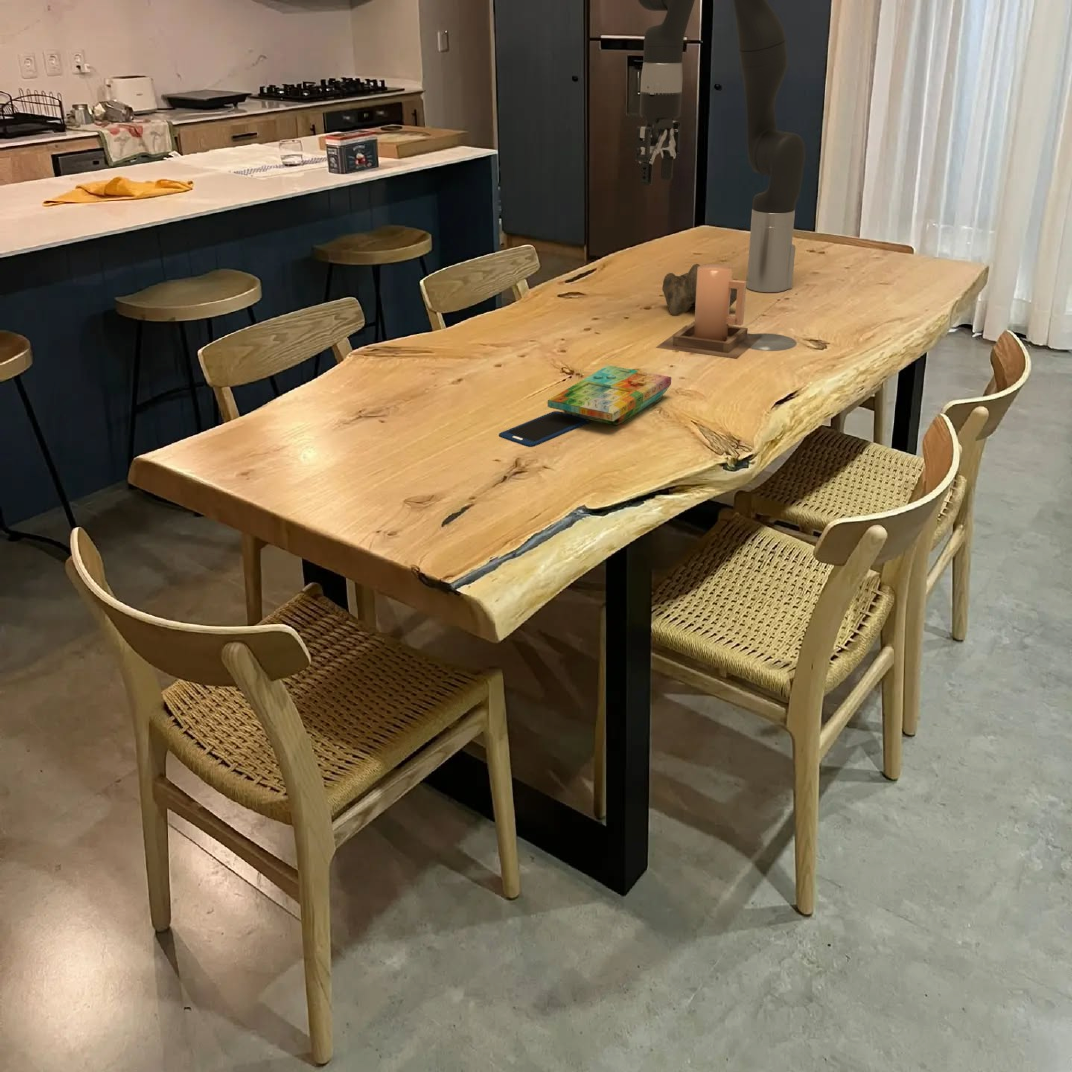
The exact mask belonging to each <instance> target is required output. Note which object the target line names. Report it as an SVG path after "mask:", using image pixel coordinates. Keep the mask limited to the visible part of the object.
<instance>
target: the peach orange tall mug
mask: <svg viewBox="0 0 1072 1072" xmlns="http://www.w3.org/2000/svg"><path fill="white" fill-rule="evenodd" d="M732 277H733V267H732V266H730V265H727V264H719V263H709V264H707V263H706V264H702V265H701V264H700V266H698V268H697V286H696V304H695V307H694V309H695V310H694V321H695V322H694V321H693V322H694V338H702V339H710V340H717V341H725V342H726V341H727V337H728V326H729V325H731V326H733V325H734V326H738V327H742V326H743V325H744V317H745V316H744V315H745V307H746V305H745V303H746V293H747V292H746V289H747V287H746V286H747V280H739V279H737V280H733V278H732ZM731 288H734V289H737V299H736V301H735V315H734V316H733V315H730V309H731V308H730V294H731Z"/></svg>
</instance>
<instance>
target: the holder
mask: <svg viewBox="0 0 1072 1072" xmlns="http://www.w3.org/2000/svg"><path fill="white" fill-rule="evenodd" d="M694 322H695V320H693V321H692V322H691V323H690V324H688V325H684V326H683V327H682V328H680V329H679V330H678V331H676V332H675V333H674V334H672V335H671V336H669V337H668V338H666V339H665V340H663V342H661V343H660V344H658V345H657V346H655V348H656V349H663V350H669V351H676V352H677V351H678V352H683V353H690V354H696V355H705V356H706V355H707V356H712V357H720V358H727V359H734V360H738V359H739V358H740V357H741V356H742V355H743V354H745V352H747V351H748V350H749V349H750V347H751V345H753V344H754V342H755V340H756V342H757V340H758V338H757V339H756V338H755V339H754V338H752V337H751V338H749V339H750V340H748V339H747V340H746V338H747V336H749V335H750V334H751V335H752V334H753V333H748V327H744V326H743V327H742V326H736V325H734V326H733V325H728V337H727V341H726V342H725V341H717V340H710V339H702V338H694ZM760 336H761V335H760ZM754 337H755V336H754ZM744 339H745V340H746V341H747V342H748V341H749V342H750V341H751V342H750V343H748V344H751V345H750V346H749V345H748V346H747V347H748V348H747V347H746V345H745V344H747V343H744V342H745V341H743V340H744ZM759 339H760V338H759ZM752 341H753V342H752ZM741 342H743V344H744V345H745V347H744V346H742V345H741V344H740V343H741ZM752 343H753V344H752Z"/></svg>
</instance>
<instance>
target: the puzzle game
mask: <svg viewBox="0 0 1072 1072" xmlns="http://www.w3.org/2000/svg"><path fill="white" fill-rule="evenodd" d="M671 385H672V377H671V376H668V375H664V374H663V375H662V374H657V373H651V372H648V371H641V370H637V369H631V368H624V367H620V366H615V365H609V364H608V365H606V366H604V367H603V368H601V369H599V370H598V371H596V372H594V373H592V374H590V375H588V376H587V377H585V378H584V379H581V380H580V381H579V382H577V383H575V384H573V385H571V386H570V387H568V388H567V389H564V390H563V391H561V392H559V393H557V394H555V395H554V396H553V397H551V398H549V399H548V400H547V407H548V408H550V409H554V410H557V411H562V412H563V413H566V414H570V415H573V416H576V417H579V418H583V419H586V420H588V421H593V422H599V423H603V424H609V425H613V426H619V425H620V424H622V423H624V421H627V420H628V419H630V418H631V417H632V416H633V417H634V415H635V414H637V413H639V412H640V411H643V409H645V408H646V407H648V406H650V405H651V404H653V403H654V402H656V401H658V400H659V399H660V398H662V397H663V395H664V394H665V393H666V392H667V391H668V389H669V388H670V386H671Z"/></svg>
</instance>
